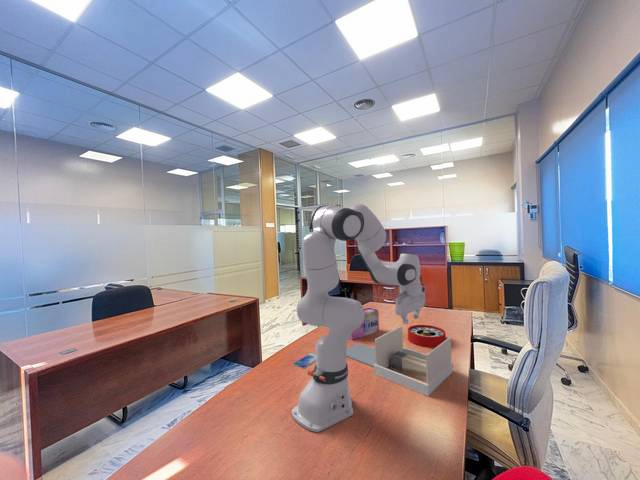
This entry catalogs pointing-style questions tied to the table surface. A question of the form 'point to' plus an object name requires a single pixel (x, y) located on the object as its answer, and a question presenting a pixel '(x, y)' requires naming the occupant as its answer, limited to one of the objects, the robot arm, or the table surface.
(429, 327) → the toy clock
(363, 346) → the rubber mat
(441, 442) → the table surface
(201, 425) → the table surface
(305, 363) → the smartphone
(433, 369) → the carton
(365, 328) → the gum box
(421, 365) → the block
